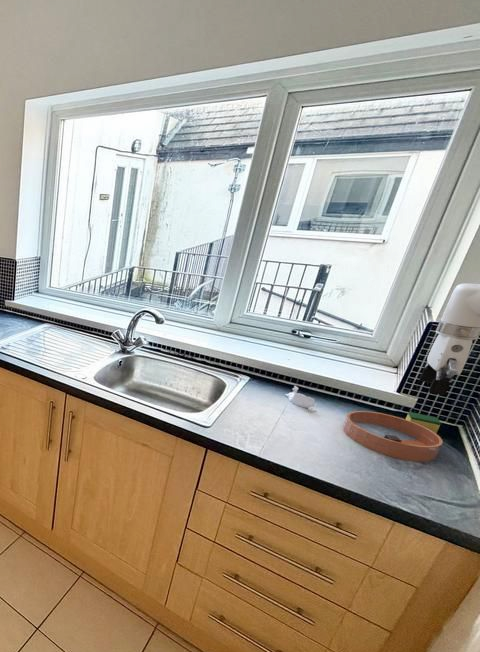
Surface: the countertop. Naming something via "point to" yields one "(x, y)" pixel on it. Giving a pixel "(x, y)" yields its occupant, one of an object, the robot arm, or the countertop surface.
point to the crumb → (392, 438)
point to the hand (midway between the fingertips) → (431, 387)
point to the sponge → (424, 421)
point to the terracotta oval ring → (402, 450)
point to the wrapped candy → (301, 399)
